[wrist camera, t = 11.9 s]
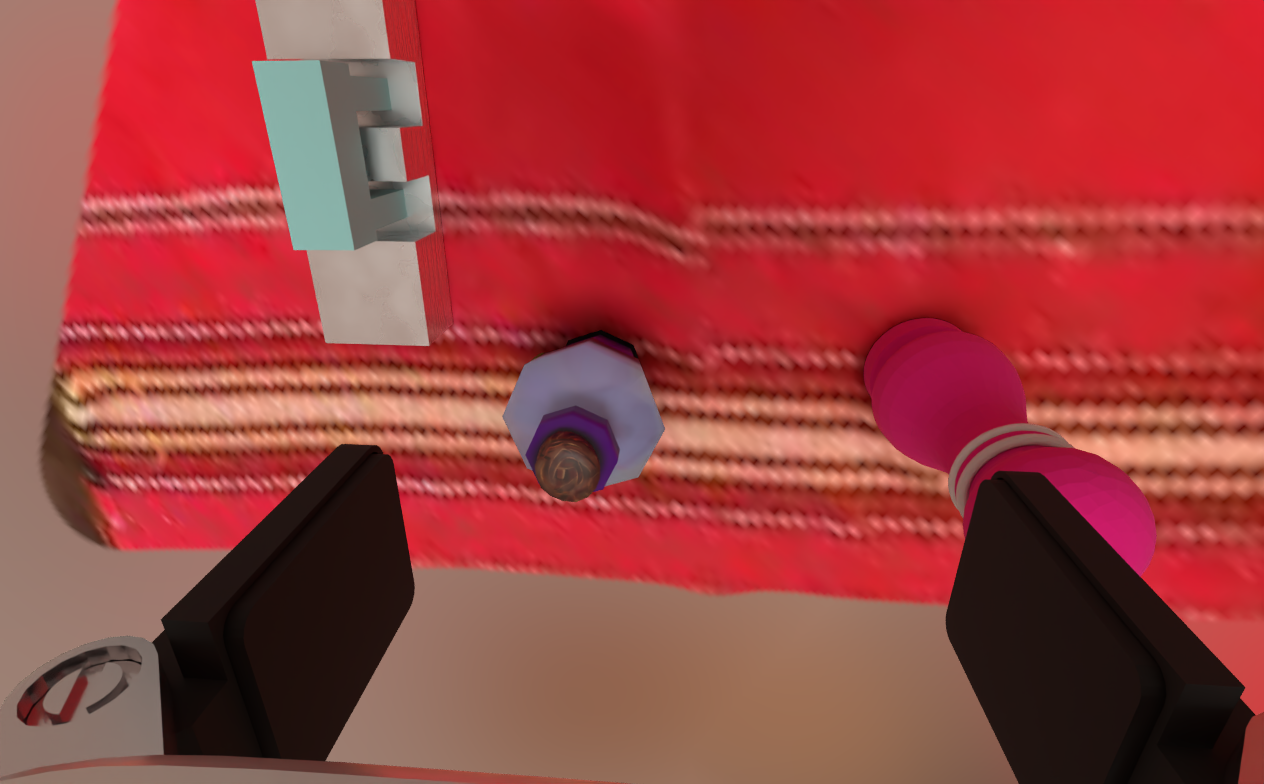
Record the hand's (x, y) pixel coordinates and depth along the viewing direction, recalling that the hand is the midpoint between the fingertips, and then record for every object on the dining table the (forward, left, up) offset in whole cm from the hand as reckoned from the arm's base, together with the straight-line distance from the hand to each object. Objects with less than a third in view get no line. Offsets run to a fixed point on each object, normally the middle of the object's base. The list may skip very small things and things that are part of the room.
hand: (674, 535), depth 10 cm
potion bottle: (+9, -5, -28) cm, 30 cm away
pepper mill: (+8, +14, -28) cm, 33 cm away
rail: (-4, -17, -28) cm, 33 cm away
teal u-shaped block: (-4, -17, -27) cm, 32 cm away
